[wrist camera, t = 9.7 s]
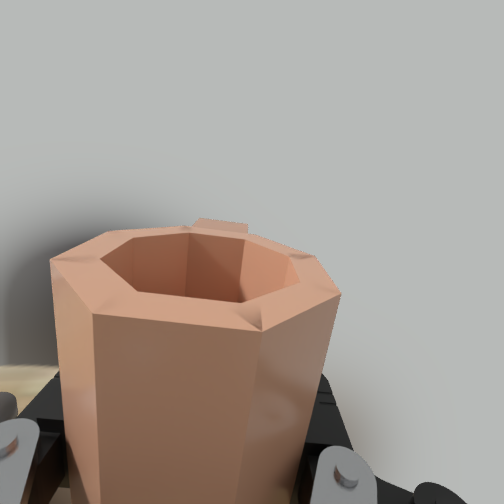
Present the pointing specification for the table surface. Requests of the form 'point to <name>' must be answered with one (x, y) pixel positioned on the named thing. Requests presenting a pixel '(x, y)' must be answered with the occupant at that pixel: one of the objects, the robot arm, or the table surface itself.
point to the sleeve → (188, 363)
